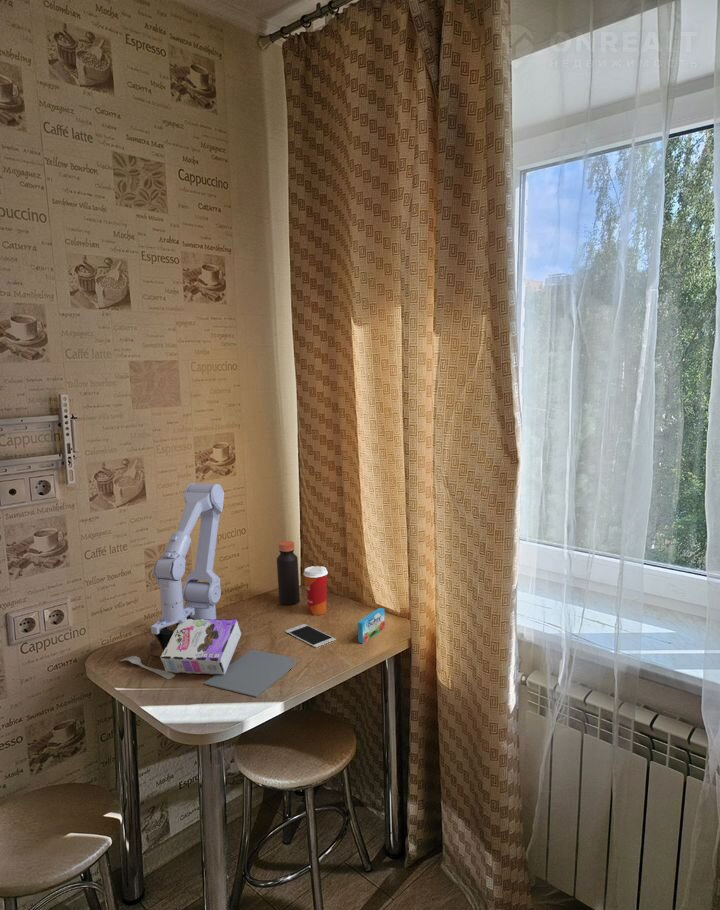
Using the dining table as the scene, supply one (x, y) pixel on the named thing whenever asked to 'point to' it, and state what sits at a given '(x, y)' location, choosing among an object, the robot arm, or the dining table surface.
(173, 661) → the candy box
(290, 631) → the smartphone
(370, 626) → the blue fruit print box
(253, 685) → the slate mat
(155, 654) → the brown rectangular bar
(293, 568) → the bottle
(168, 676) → the fork
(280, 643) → the dining table surface
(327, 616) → the dining table surface
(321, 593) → the paper cup
